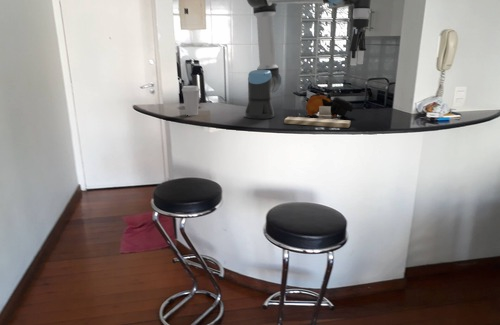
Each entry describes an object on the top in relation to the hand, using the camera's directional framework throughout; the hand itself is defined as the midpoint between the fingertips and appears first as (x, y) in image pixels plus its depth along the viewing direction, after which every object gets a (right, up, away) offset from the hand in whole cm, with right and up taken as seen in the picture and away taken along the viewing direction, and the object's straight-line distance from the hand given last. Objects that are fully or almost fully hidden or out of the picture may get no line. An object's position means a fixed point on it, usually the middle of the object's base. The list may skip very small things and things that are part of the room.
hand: (356, 64), depth 189 cm
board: (-21, -30, -7) cm, 37 cm away
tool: (-11, -24, +13) cm, 29 cm away
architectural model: (-15, -28, +1) cm, 32 cm away
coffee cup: (-84, -22, +18) cm, 88 cm away
